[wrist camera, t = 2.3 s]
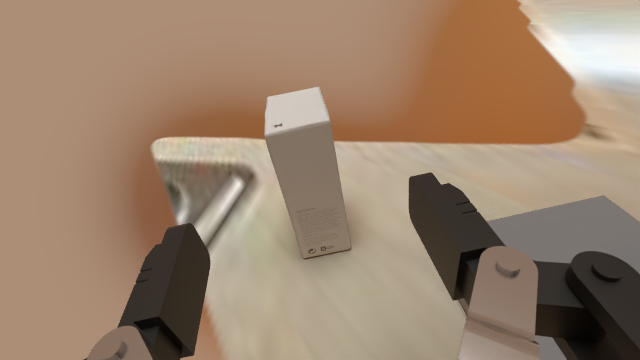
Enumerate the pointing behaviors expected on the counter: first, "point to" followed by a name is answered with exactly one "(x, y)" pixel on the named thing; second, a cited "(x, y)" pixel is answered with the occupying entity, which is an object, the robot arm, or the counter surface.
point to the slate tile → (570, 240)
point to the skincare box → (307, 170)
